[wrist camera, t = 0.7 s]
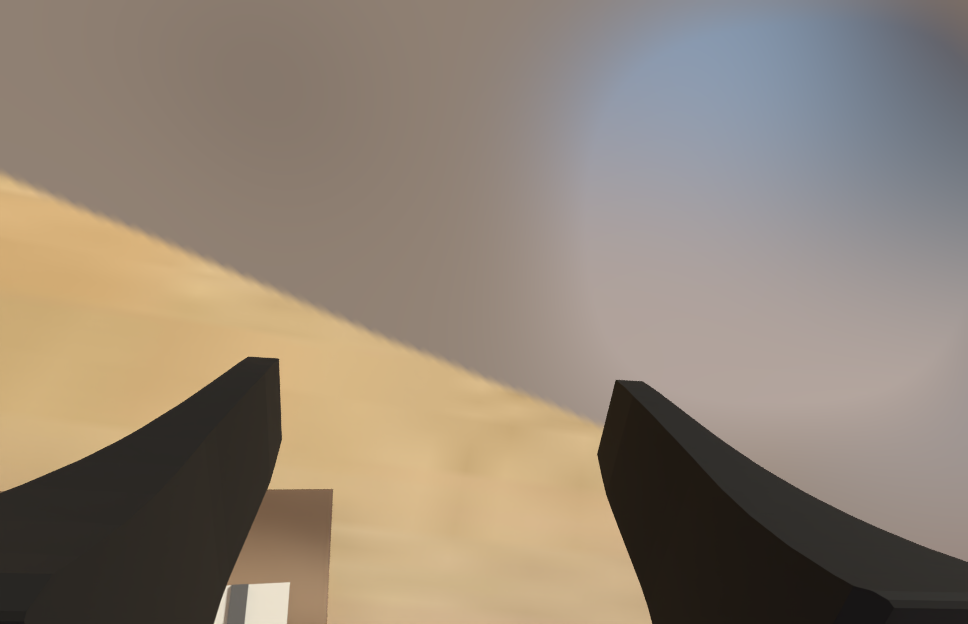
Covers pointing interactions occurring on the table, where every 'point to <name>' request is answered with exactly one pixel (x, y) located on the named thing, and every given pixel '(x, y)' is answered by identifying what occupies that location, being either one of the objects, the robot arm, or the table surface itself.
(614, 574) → the table surface
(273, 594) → the fader knob
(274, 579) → the fader console
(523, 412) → the table surface
